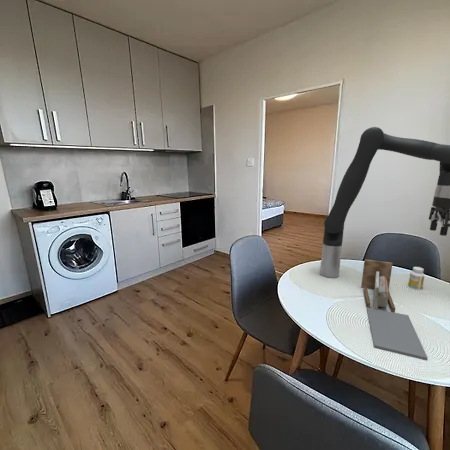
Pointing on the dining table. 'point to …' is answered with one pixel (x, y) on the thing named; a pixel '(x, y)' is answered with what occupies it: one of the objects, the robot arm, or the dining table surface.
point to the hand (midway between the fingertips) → (437, 232)
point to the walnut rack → (369, 279)
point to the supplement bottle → (416, 278)
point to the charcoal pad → (394, 333)
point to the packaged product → (380, 291)
